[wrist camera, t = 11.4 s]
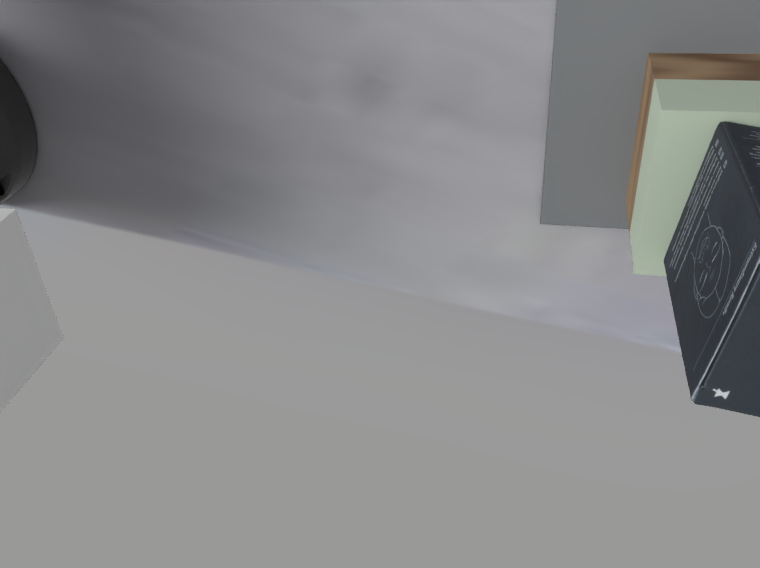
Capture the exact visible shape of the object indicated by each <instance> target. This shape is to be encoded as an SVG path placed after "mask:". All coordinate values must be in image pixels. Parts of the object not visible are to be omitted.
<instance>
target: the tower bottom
mask: <svg viewBox="0 0 760 568" xmlns="http://www.w3.org/2000/svg"><path fill="white" fill-rule="evenodd" d="M654 79H685V80H744V81H760V54H713V53H648V59H647V65H646V72H645V78H644V85H643V91H642V98H641V105H640V111H639V118H638V124H637V131H636V137H635V144H634V151H633V157H632V164H631V170H630V177H629V183H628V190H627V197H626V206H627V215H628V224H629V233H630V228H631V222H632V216H633V209H634V203H635V197H636V191H637V185H638V178H639V172H640V166H641V160H642V154H643V147H644V141H645V135H646V129H647V123H648V116H649V110H650V104H651V98H652V92H653V85H654Z"/></svg>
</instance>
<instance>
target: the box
mask: <svg viewBox="0 0 760 568" xmlns="http://www.w3.org/2000/svg"><path fill="white" fill-rule="evenodd" d="M664 265H665V270H666V275H667V281H668V285H669V291H670V296H671V300H672V306H673V311H674V317H675V321H676V325H677V331H678V336H679V341H680V346H681V351H682V357H683V361H684V365H685V371H686V376H687V381H688V386H689V389H690V395H691V400H692V401H693V402H694V403H695V404H698V405H705V406H710V407H716V408H721V409H725V410H730V411H735V412H740V413H744V414H748V415H753V416H758V417H760V127H755V126H748V125H744V124H738V123H732V122H726V121H723V122H720V123H719V124H718V126H717V128H716V130H715V132H714V135H713V137H712V140H711V142H710V144H709V147H708V150H707V152H706V155H705V157H704V160H703V162H702V164H701V167H700V170H699V172H698V174H697V177H696V179H695V182H694V185H693V187H692V189H691V192H690V195H689V197H688V200H687V202H686V204H685V207H684V209H683V212H682V214H681V217H680V220H679V222H678V224H677V227H676V230H675V232H674V235H673V237H672V240H671V242H670V244H669V247H668V250H667V252H666V255H665V258H664Z"/></svg>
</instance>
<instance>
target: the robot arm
mask: <svg viewBox="0 0 760 568" xmlns="http://www.w3.org/2000/svg"><path fill="white" fill-rule="evenodd" d="M36 152H37V142H36V133H35V128H34V123H33V120H32V116H31V113H30V110H29V108H28V105H27V103H26V101H25V99H24V96H23V94H22V92H21V91H20V89H19V87H18V85H17V84H16V82H15V80H14V79H13V77H12V76H11V74H10V73H9V71H8V70H7V69H6V67H5V66H4V65H3V63H2V62H1V61H0V205H1V204H2V203H3V202H5V201H6V200H7V199H9V198H10V197H11V196H12V195H14V194H15V193H16V192H18V191H19V190H20V189H21V188H22V187H23V186H24V185H25V184H26V182H27V181H28V179H29V178H30V176H31V174H32V171H33V168H34V165H35V161H36ZM63 339H64V337H63V334H62V331H61V329H60V326H59V323H58V321H57V318H56V315H55V313H54V310H53V307H52V304H51V302H50V299H49V296H48V294H47V291H46V288H45V286H44V283H43V280H42V278H41V275H40V273H39V270H38V267H37V264H36V262H35V259H34V256H33V254H32V251H31V248H30V246H29V243H28V240H27V238H26V235H25V232H24V230H23V227H22V225H21V222H20V219H19V217H18V214H17V211H16V209H9V208H0V412H1V411H2V410H3V409H4V408H5V406H6V405H7V404H8V403H9V402H10V401H11V399H12V398H13V397H14V396H15V395H16V394H17V392H18V391H19V390H20V389H21V388H22V387H23V385H24V384H25V383H26V382H27V381H28V380H29V378H30V377H31V376H32V375H33V374H34V373H35V371H36V370H37V369H38V368H39V367H40V366H41V364H42V363H43V362H44V361H45V360H46V358H47V357H48V356H49V355H50V354H51V353H52V351H53V350H54V349H55V348H56V347H57V345H58V344H59V343H60V342H61V341H62V340H63Z"/></svg>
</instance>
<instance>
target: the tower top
mask: <svg viewBox="0 0 760 568" xmlns="http://www.w3.org/2000/svg"><path fill="white" fill-rule="evenodd" d="M723 121H726V122H732V123H738V124H744V125H748V126H755V127H760V81H744V80H685V79H654V85H653V92H652V98H651V104H650V110H649V116H648V123H647V129H646V135H645V141H644V147H643V154H642V160H641V166H640V172H639V178H638V185H637V191H636V197H635V203H634V209H633V216H632V222H631V228H630V234H629V235H630V244H631V253H632V263H633V272H634V274H637V275H652V276H666V277H667V275H666V270H665V265H664V258H665V255H666V252H667V250H668V247H669V244H670V242H671V240H672V237H673V235H674V232H675V230H676V227H677V224H678V222H679V220H680V217H681V214H682V212H683V209H684V207H685V204H686V202H687V200H688V197H689V195H690V192H691V189H692V187H693V185H694V182H695V179H696V177H697V174H698V172H699V170H700V167H701V164H702V162H703V160H704V157H705V155H706V152H707V150H708V147H709V144H710V142H711V140H712V137H713V135H714V132H715V130H716V128H717V126H718V124H719V123H720V122H723Z"/></svg>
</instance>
